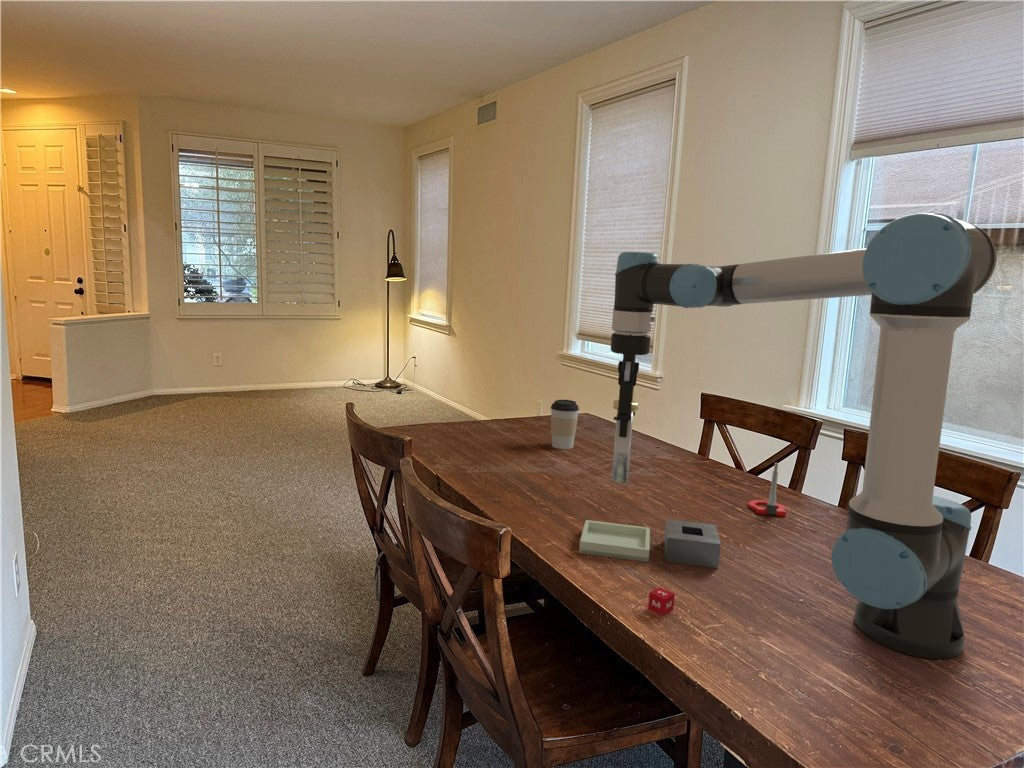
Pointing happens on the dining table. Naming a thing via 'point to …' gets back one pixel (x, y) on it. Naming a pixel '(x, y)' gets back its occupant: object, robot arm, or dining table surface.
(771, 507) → the tow hook
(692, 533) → the hitch block
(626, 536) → the tray
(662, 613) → the dice
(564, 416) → the coffee cup
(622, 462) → the pin
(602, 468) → the dining table surface
